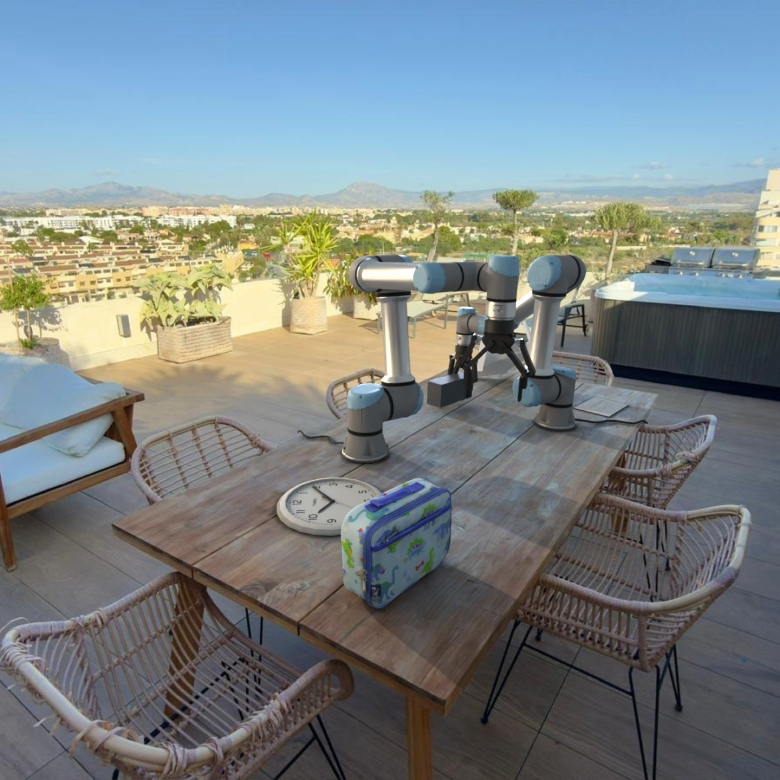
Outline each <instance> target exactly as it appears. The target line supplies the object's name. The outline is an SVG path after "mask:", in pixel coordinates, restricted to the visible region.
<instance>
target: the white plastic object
mask: <svg viewBox="0 0 780 780" xmlns="http://www.w3.org/2000/svg"><path fill="white" fill-rule="evenodd" d="M521 323H522V325H523V328H524V332H525V334H526V338H527V341H526V348H527V350H529V342H530V335H531V329H530V328H529V325H528V322H527V318H526V319H525V320H523V321H522V322H521ZM481 336H483V335H482V334H481ZM484 347H485V345H484V344H483V342H482V340H480V341H479V348H478V352H477V354H478V353H479V352H480V351H481V350H482V349H483V348H484ZM511 348H512V349H513V351H514V353H515V354H516V356H517V357H518V358H519V360H520V361H521V362H522V361H524V358H523V356H522V353H521V350H520V347H518V346H517V344H515V343H514V344H513V346H512V347H511ZM514 367H516V366H515V365H514V364H513V362H512V361H511V359H510V358H509V357H508V356H507V355H506V353H505V354H503V355H501V354H497V353H495V354H491V353H490V352H488V351H487V352H486V353H485V354H484V355H483V356H482V357H481V358H480V359H479V360H478V364H477V374H478V378H480V377H488V376H489V377H490V376H497V375H498V376H499V377H501V376H504V375H506V374H509V371H510V370H511V369H513V368H514Z"/></svg>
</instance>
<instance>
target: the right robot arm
mask: <svg viewBox="0 0 780 780" xmlns="http://www.w3.org/2000/svg"><path fill="white" fill-rule="evenodd" d="M586 275H587V267H586V264H585V262H584V261H583V260H582V259H581V258H580V257H579V256H576V255H573V254H547V255H541V256H538V257H537V258H536V259H534V260H533V261H532V262H531V264H530V265H529V267H528V270H527V273H526V281H527V283H528V286H529V288H530V289H531V291H529V293H527V294H526V295H525V296H523V297H522V298H520V299H519V300H518V301H516V302H517V303H516V314H515V317H514V318H513V319H514V320H515V325H514V331H515V330H517V329H518V328H519V326H520V324H521V323H522V321H523V320H525V319H526V320H527V319H528V318H529V317H531V316H532V322H531V327H530V333H531V335H530V342H529V350H528V353H529V355H530V357H531V360H532V362H533V365H534V367H535V370H536V373H535V375H534V376H529V377H528V383H527V387H526V389H523V391H522V399H521V401H520V402H518V404H520V405H521V406H523V407H526V408H532V407H535V408H536V407H538V409H537V410H536V413H535V416H534V424H535V425H536V426H537V427H539V428H542V429H544V430H549V431H556V432H567V431H572V430H574V429H575V428H576V422H582V423H588V424H596V425H597V424H605V423H619V424H625V425H638V424H642V423H644V424H645V425H649V422H648V421H647V420H646V419H640V420H637V421H626V420H621V419H602V420H589V419H585V418H584V419H582V418H577V417H576V416H575V413H574V407H573V405H574V398H575V390H576V383H577V372H576V371H575V369H572V368H571V367H570V368H569V367H566V366H561V365H552V361H553V354H554V349H555V348H554V347H555V343H556V342H555V341H556V336H557V328H558V323H559V316H560V308H561V304H562V303H561V302H562V301H564V300H565V299H566V298H567V294H570V293H571V292H572V291H574V290H576V289H577V288H578V287H579V286H580V285H582V284H583V282H584V280H585V279H586ZM476 311H477V310H476V308H475V307H473V306H460V307H458V309H457V314H456V327H455V328H456V329H455V330H456V331H455V345H454V352H455V353H453V354H452V353H451V354H449V355H448V358H449V363H448V369H447V375H450V374H454V373H458V372H460V369H461V368H458V366H457V365H458V363H459V361H460V359H461V358H462V356H463V354H464V353H465V351H466V349H467V348H468V346H469V344H470V342H471V336H472V335H474V334H475V333H476V334H478V335H481V336H482V335H484V326H485V319H486V318H487V316H486V315H485V314H479V313H477V312H476ZM473 353H474V349H473V350H472V352H471V353H470V355H469V357H468V358H467V360H466V362H465V364H468V363H469V362H470V361H471V360H472V359H473V358H474V357H473ZM477 364H478V361H477V362H476V363H474V364H473V365H472V366H471V367H470V369H473V373H472V388H471V392H472V393H473V390H474V384H477V383H478V382H479V377H478V374H477ZM524 367H525V368H526V370H527V371H529V370H528V368H527V366H526V364H524ZM447 375H446V376H447ZM519 378H520V376H518V377H517V378H516V379H514V380H513V383H512V393H513V396H514V398H515V399H516V400H517V399H518V388H519ZM469 397H471V393H470V394H469V395H466V398H468V399H470V398H469ZM471 398H472V397H471ZM575 417H576V418H575Z"/></svg>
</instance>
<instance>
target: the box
mask: <svg viewBox="0 0 780 780" xmlns="http://www.w3.org/2000/svg"><path fill="white" fill-rule="evenodd" d="M463 378H464V371H458V373H454V374H450V375H444V376H441V377H437V378H433V379H429V380H427V393H426V405H429V406H433V407H436V408H438V409H442V408H444V407H447V406H450V405H453V404H456V403H459V402H461V401H465V400H468V399H470V398H473V391H472V392H471V397H469V398H466V390H467V382H464V380H463Z"/></svg>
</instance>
